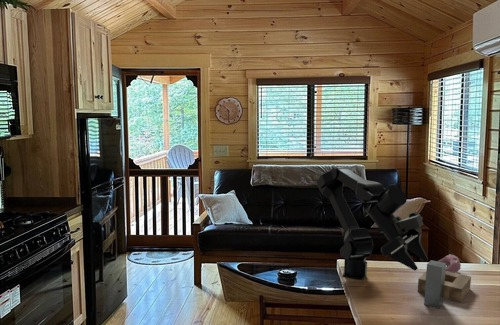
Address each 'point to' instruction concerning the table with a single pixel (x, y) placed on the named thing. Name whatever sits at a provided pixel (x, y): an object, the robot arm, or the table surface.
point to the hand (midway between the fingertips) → (421, 264)
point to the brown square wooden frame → (450, 285)
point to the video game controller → (451, 263)
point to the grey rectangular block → (435, 284)
